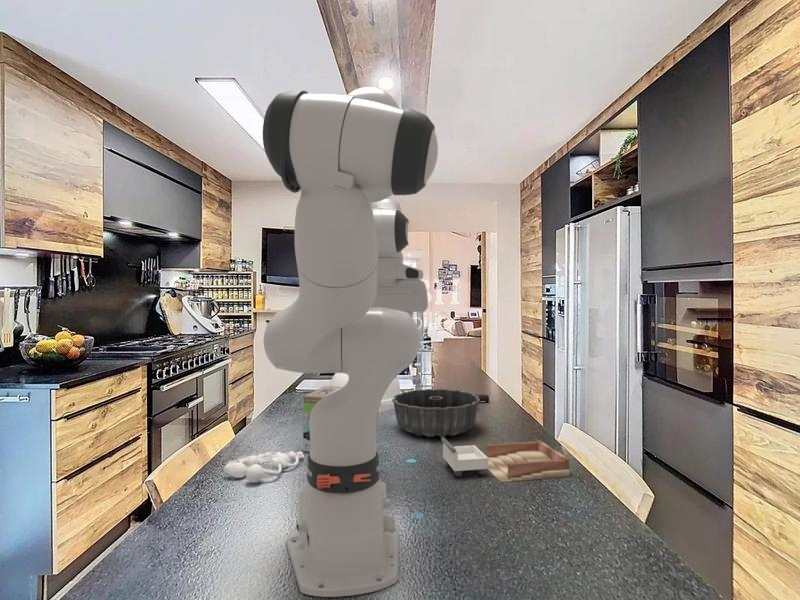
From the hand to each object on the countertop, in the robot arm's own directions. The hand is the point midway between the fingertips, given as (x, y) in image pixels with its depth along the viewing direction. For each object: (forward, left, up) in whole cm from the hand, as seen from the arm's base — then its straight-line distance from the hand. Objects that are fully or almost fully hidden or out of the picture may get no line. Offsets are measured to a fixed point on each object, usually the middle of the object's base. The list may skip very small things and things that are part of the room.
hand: (384, 332), depth 108 cm
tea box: (+22, +11, -33) cm, 41 cm away
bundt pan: (+30, -21, -33) cm, 49 cm away
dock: (-3, -33, -32) cm, 46 cm away
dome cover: (+69, -4, -33) cm, 77 cm away
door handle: (+57, -39, -33) cm, 77 cm away
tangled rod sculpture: (+7, +28, -33) cm, 44 cm away
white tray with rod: (-3, -19, -32) cm, 37 cm away
